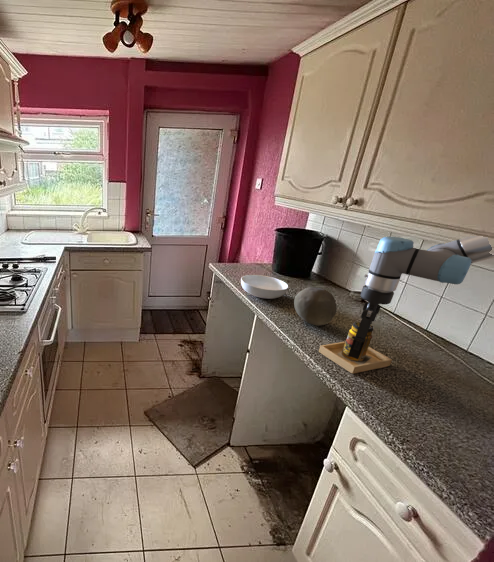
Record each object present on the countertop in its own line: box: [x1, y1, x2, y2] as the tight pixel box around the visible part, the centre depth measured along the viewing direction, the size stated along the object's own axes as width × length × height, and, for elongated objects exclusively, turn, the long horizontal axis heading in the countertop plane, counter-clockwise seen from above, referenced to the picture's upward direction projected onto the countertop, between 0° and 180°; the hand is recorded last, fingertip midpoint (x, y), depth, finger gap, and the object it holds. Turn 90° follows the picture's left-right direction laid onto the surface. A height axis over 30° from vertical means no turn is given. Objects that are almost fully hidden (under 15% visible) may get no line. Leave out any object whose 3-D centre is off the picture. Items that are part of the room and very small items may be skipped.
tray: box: [318, 340, 393, 374], centre depth 103 cm, size 16×12×2 cm
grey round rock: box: [293, 286, 338, 326], centre depth 123 cm, size 14×14×15 cm
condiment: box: [337, 321, 374, 365], centre depth 102 cm, size 7×8×12 cm
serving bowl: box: [240, 274, 289, 300], centre depth 150 cm, size 21×21×7 cm
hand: (355, 350), depth 102 cm, fingers open, 9 cm apart
